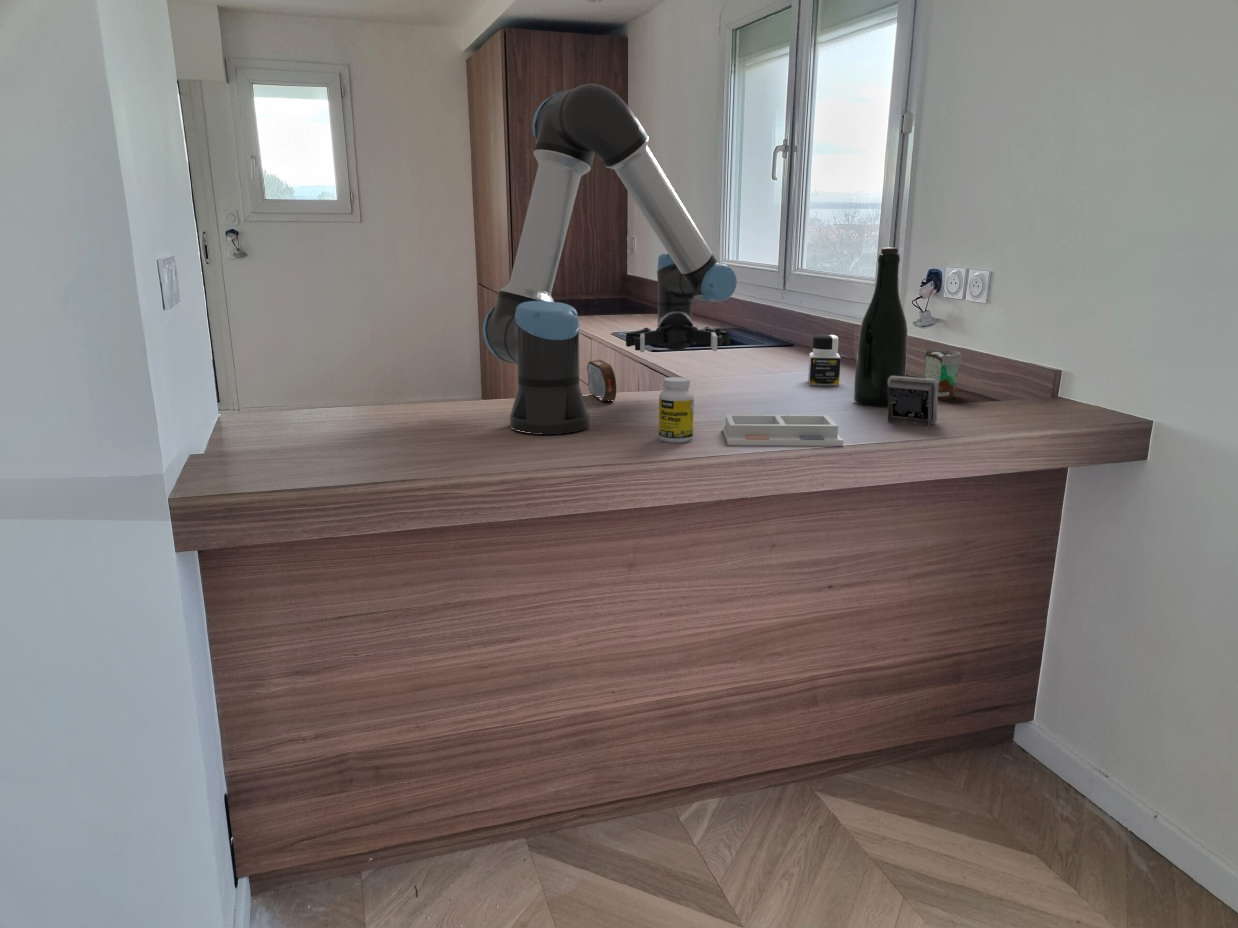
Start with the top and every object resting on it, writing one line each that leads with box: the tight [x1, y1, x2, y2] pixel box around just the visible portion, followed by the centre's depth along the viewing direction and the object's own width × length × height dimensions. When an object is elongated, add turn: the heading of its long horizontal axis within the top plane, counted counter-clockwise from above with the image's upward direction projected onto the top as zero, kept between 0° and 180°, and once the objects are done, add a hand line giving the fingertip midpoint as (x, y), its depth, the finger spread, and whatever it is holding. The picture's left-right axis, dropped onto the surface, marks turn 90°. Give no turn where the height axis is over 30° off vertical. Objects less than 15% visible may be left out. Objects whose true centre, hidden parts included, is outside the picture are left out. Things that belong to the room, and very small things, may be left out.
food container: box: [923, 348, 963, 401], centre depth 193 cm, size 12×6×10 cm, turn 179°
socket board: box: [722, 414, 844, 447], centre depth 154 cm, size 20×12×3 cm, turn 88°
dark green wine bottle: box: [853, 247, 908, 407], centre depth 182 cm, size 10×10×33 cm
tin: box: [586, 359, 617, 401], centre depth 192 cm, size 15×3×8 cm, turn 18°
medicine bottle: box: [807, 333, 842, 387], centre depth 210 cm, size 7×7×12 cm
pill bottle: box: [658, 376, 695, 444], centre depth 152 cm, size 6×6×11 cm
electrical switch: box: [887, 376, 938, 427], centre depth 165 cm, size 9×5×9 cm, turn 57°
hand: (678, 344), depth 159 cm, fingers open, 13 cm apart
